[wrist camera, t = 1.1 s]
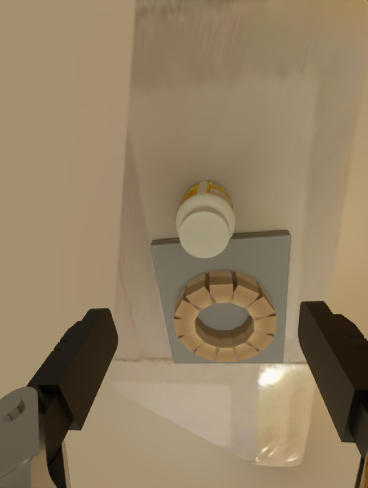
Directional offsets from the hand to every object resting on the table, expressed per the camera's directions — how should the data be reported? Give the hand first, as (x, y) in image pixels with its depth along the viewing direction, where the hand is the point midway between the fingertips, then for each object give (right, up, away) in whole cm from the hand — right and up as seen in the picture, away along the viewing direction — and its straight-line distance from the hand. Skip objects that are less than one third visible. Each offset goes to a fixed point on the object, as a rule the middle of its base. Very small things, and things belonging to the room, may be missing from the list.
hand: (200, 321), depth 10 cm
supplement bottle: (+2, +8, +17) cm, 19 cm away
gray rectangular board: (+5, -5, +23) cm, 24 cm away
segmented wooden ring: (+4, -5, +21) cm, 22 cm away
